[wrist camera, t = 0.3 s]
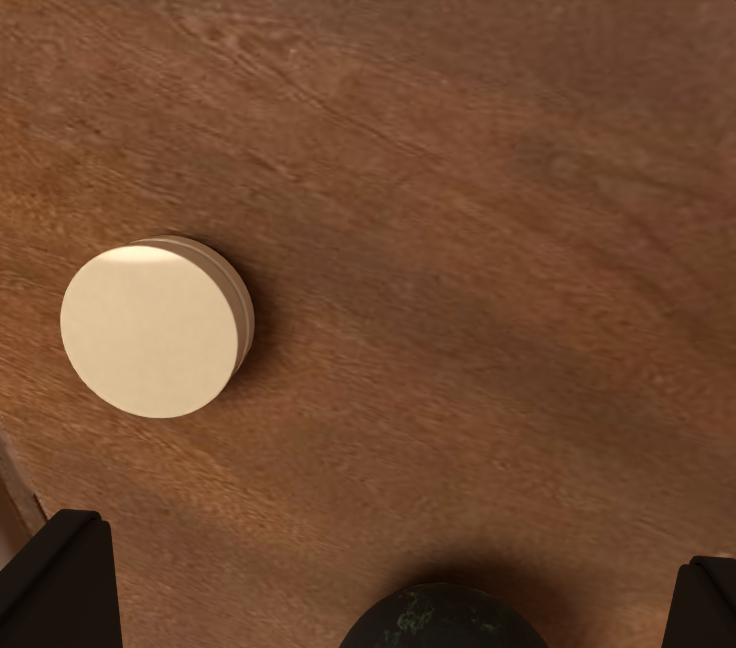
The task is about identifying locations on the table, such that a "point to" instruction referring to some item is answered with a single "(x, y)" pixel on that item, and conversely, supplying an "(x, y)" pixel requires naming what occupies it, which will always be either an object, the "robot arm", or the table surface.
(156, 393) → the beige round container
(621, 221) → the table surface
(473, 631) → the decorative stone
